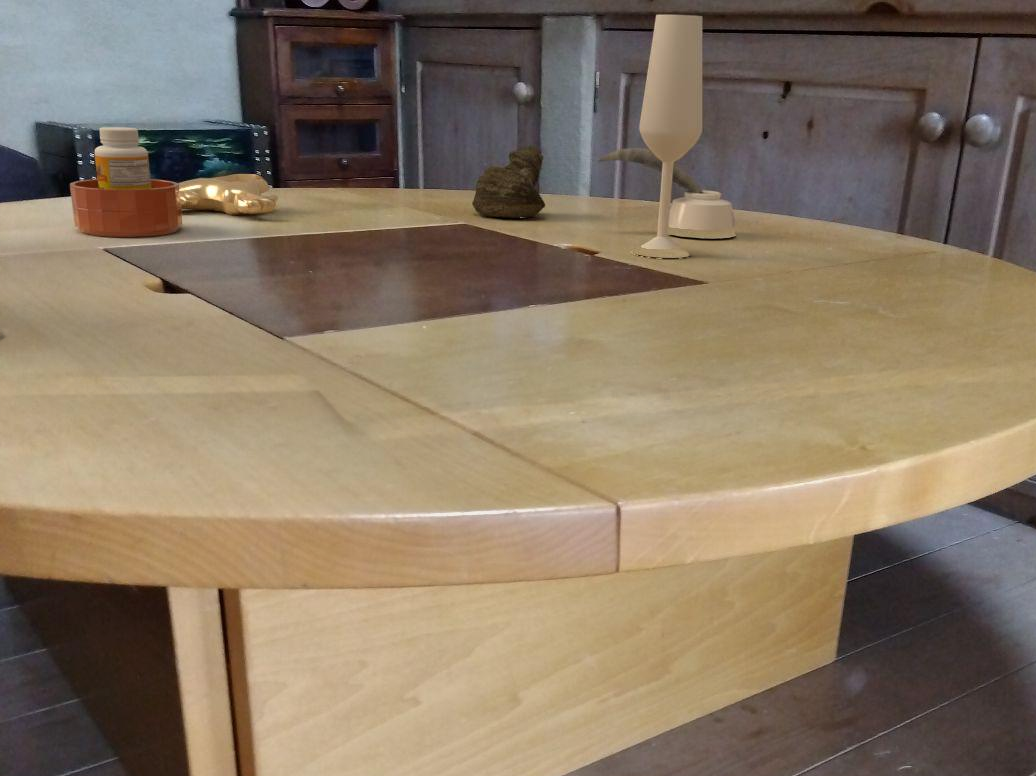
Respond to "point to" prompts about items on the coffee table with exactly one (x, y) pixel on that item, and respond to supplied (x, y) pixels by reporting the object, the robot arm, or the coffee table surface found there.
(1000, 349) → the coffee table surface
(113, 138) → the supplement bottle
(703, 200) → the inkwell
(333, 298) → the coffee table surface
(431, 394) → the coffee table surface
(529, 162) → the brown irregular lump
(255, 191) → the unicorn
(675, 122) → the champagne flute
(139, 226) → the bowl
